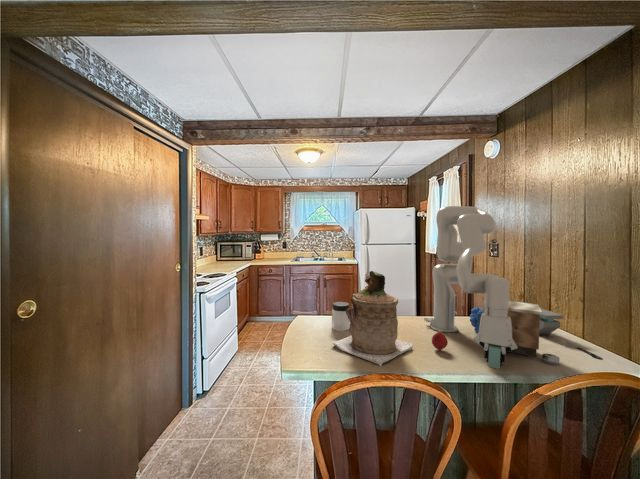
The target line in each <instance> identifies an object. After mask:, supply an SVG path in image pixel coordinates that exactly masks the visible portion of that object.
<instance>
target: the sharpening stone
mask: <svg viewBox="0 0 640 479" xmlns="http://www.w3.org/2000/svg"><path fill="white" fill-rule="evenodd" d="M520 302H521V303H525V302H523V301H520ZM540 309H541V311H542V315H540V328H539V335H550V334H551V333H553V332H555V331H556V330H558V329H559V328H560V327H561V321H558V320H563V319H564V315H563V314H560V313H556V312H554V311H551V310H547V309H544V308H542V307H540Z"/></svg>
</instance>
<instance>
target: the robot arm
mask: <svg viewBox="0 0 640 479" xmlns="http://www.w3.org/2000/svg"><path fill="white" fill-rule="evenodd" d="M435 218H436V220H435V221H436V226H437V231H438V232H437V236H438V237H437V250H436V254H437V255H436V256H437V258H438V259H437V260H439V261H442V262H456V263H440V264H436V265H434V267H433V268H432V280H433V317H428V316H424V318H423V320H424V322H425V323H429V328H430V329H432V330H433V331H435V332H436V331H437V332H438V331H442V333H447V334H448V333H449V334H450V333H457V331H458V330H459V329H458V327H457V325H455V314H456V313H455V310H456V308H455V306H456V305H455V304H456V292H455V290H454V288H453V287H452V284H453V285H454V284H455V285H456V284H459V286H460V288H461V290H462V291H463V292H464V293H467V294H484V298H483V299H484V300H483V301H484V305H483V306H479V308H480V310H482V311H483V312H484V313H482V315H481V319H480V327H479V333H477V334H476V335H475V336H474V337H473V341H474V342H476V343H477V344H478V345H480V346H481V348H482V349H483V351H484V359H485V360H486V363H488V359H489V347H488V346H489V344H492V345H498V346H501V351H500V366H503V363H505V360H506V359H505V355H506V354H507V353H509V351H511V350H514V349H517V348H518V347H517V344H516V343H515V341H514V340H513V338H512V322H511V318H510V317H509V316H508V314H509V301H510V281H509V279H507V278H505V277H500V276H497V274H493V273H472V271H473V270H472V269H473V260H474V257H475V256H477V255H480V254H481V253H483V252H485V251H486V250H487V244H486V240H485V236H484V235H487V234H491V233H493V232H494V230H495V228H496V227H495V226H496V223H495V220H494V218H493V217H492V215H491V214H489V213H488V212H487V211H484V210H482V209H481V208H479V207H477V206H466V205H464V206H463V205H462V206H461V205H460V206H459V205H458V206H457V205H450V206H449V205H448V206H443V207H441V208H440V209H439V210H437V212H436V217H435ZM455 225H456V226H457V229H456V227H455ZM458 236H459V238H460V241H458Z"/></svg>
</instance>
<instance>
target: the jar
mask: <svg viewBox="0 0 640 479" xmlns="http://www.w3.org/2000/svg"><path fill="white" fill-rule="evenodd" d="M347 309H351V306H350V303H349V302H346V301H335V302H333V303H332V307H331V328H332V330H334V331H338V332H345V331H349V328H350V321H349V319H348V316H347V315H346V310H347Z"/></svg>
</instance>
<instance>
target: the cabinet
mask: <svg viewBox="0 0 640 479" xmlns="http://www.w3.org/2000/svg"><path fill="white" fill-rule="evenodd" d="M521 302H522V301H511V300H509V314H508V316H509V317H510V318H511V322H512V338H513V340H514V341H515V343H516V344H517V347H518V348H517V349H514V350H511V351H510V352H511V353H514V354H519V355H525V356H531V357H537V351H538V350H539V348H540V334H539V328H540V315H542V311H541V309H540V308H541V307H540V306H539V304H535V303H530V302H529V303H528V302H524V303H521ZM488 348H489V346H488Z"/></svg>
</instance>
